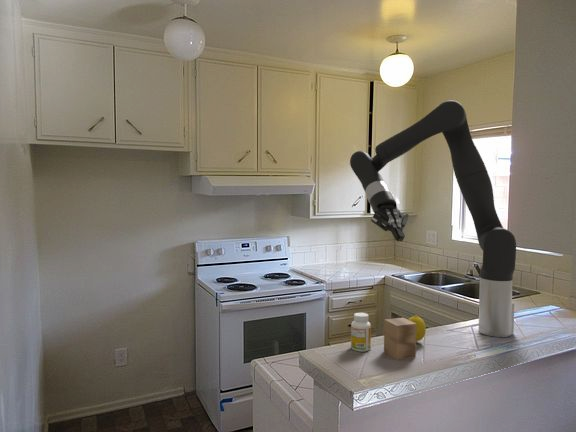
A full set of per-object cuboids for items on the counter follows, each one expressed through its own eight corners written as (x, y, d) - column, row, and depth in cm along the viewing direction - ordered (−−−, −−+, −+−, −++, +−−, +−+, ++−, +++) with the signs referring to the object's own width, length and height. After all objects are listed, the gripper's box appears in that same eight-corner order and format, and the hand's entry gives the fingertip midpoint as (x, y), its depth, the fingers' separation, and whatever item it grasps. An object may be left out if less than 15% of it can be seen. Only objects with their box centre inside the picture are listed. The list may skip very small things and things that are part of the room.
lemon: (403, 339, 128) (403, 312, 127) (421, 339, 128) (421, 312, 128) (409, 345, 122) (410, 318, 122) (428, 345, 123) (429, 317, 122)
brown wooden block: (402, 349, 119) (403, 317, 119) (415, 357, 114) (416, 323, 113) (383, 351, 117) (384, 319, 117) (396, 359, 112) (396, 325, 111)
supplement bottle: (361, 344, 123) (362, 310, 123) (374, 350, 119) (375, 315, 118) (347, 347, 121) (347, 313, 120) (359, 353, 116) (359, 318, 116)
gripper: (366, 189, 133) (386, 231, 122) (402, 190, 137) (425, 231, 126) (357, 206, 138) (376, 248, 127) (393, 206, 143) (414, 246, 131)
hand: (401, 239), depth 127 cm, fingers closed
